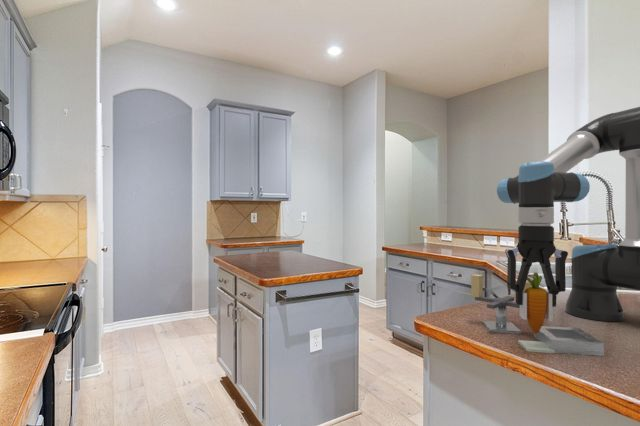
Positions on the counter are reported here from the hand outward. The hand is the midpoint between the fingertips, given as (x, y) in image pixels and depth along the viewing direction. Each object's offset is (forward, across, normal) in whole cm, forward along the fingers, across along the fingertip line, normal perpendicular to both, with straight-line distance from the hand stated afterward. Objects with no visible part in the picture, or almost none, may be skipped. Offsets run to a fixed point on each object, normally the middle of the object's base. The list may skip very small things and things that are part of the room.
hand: (535, 318), depth 87 cm
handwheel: (0, -4, +14) cm, 15 cm away
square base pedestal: (+7, -4, +14) cm, 16 cm away
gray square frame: (+7, +8, +3) cm, 11 cm away
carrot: (+4, 0, 0) cm, 4 cm away
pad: (+7, 0, 0) cm, 7 cm away
